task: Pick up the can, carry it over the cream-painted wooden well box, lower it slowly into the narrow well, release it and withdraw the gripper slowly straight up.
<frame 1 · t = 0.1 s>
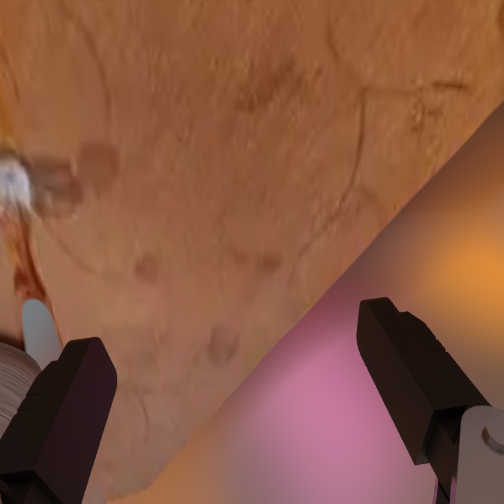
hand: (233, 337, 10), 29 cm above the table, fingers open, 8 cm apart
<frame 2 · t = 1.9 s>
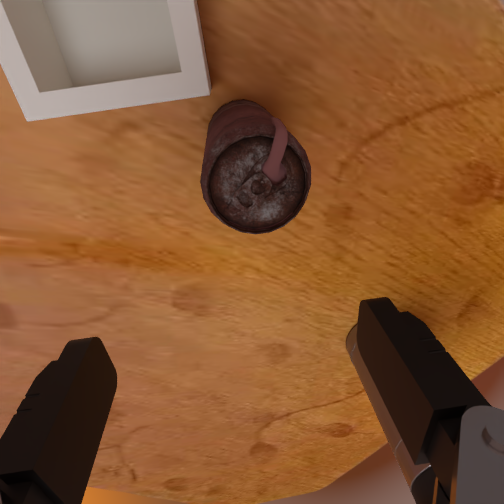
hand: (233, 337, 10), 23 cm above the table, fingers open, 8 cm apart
can: (241, 134, 29), on the table
well: (115, 8, 23), on the table
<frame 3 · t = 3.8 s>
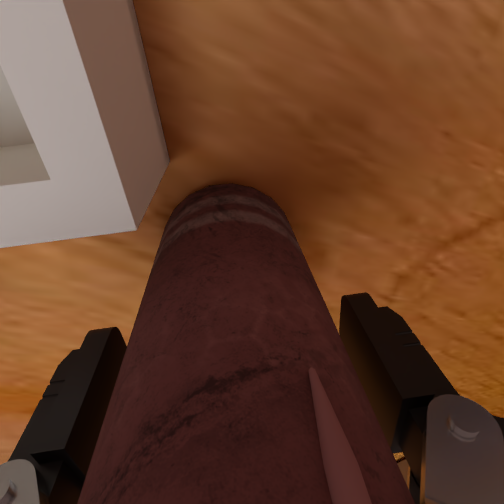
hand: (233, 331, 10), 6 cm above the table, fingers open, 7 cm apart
can: (228, 235, 16), on the table
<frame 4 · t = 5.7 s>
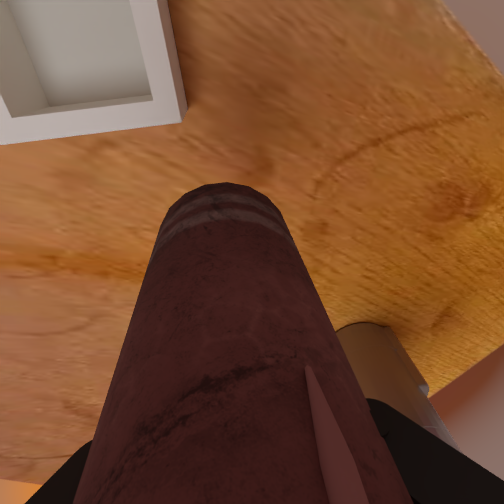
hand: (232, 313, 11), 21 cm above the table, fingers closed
can: (224, 234, 16), point 16 cm above the table, touching hand
well: (90, 31, 23), on the table
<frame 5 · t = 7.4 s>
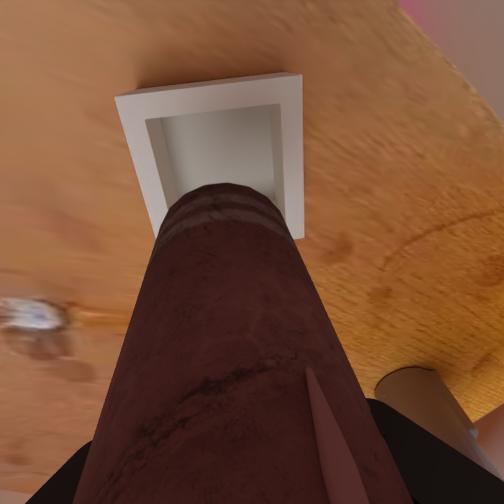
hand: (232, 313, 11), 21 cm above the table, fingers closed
can: (224, 234, 16), point 15 cm above the table, touching hand
well: (221, 155, 29), on the table
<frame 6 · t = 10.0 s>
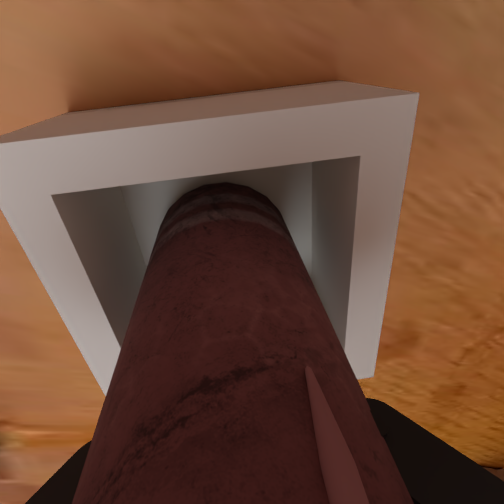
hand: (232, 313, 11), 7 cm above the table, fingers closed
can: (224, 234, 16), point 2 cm above the table, touching hand
well: (224, 219, 17), on the table
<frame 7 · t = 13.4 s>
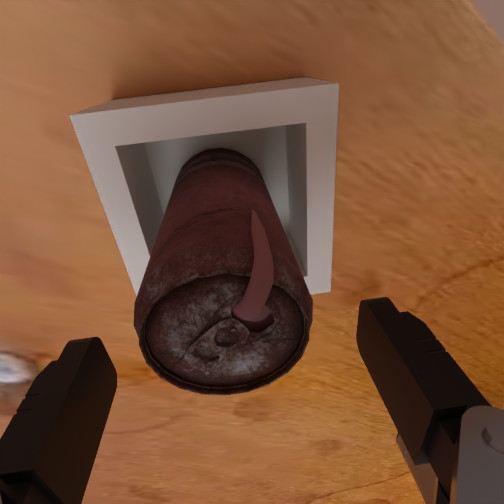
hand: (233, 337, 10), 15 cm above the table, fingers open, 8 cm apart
can: (221, 188, 22), point 1 cm above the table, touching well
well: (222, 181, 23), on the table
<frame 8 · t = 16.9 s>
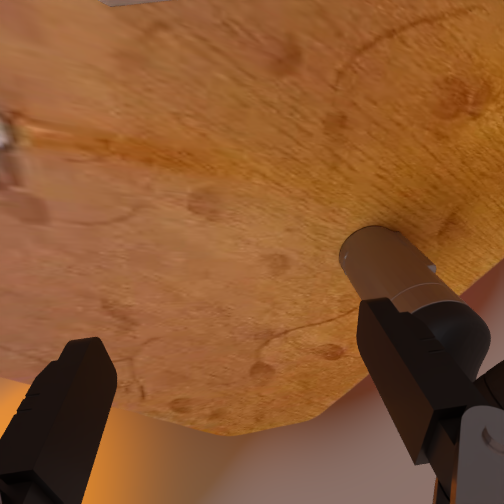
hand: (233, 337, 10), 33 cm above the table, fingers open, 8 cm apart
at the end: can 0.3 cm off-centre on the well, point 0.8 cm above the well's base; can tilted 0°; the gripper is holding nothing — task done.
